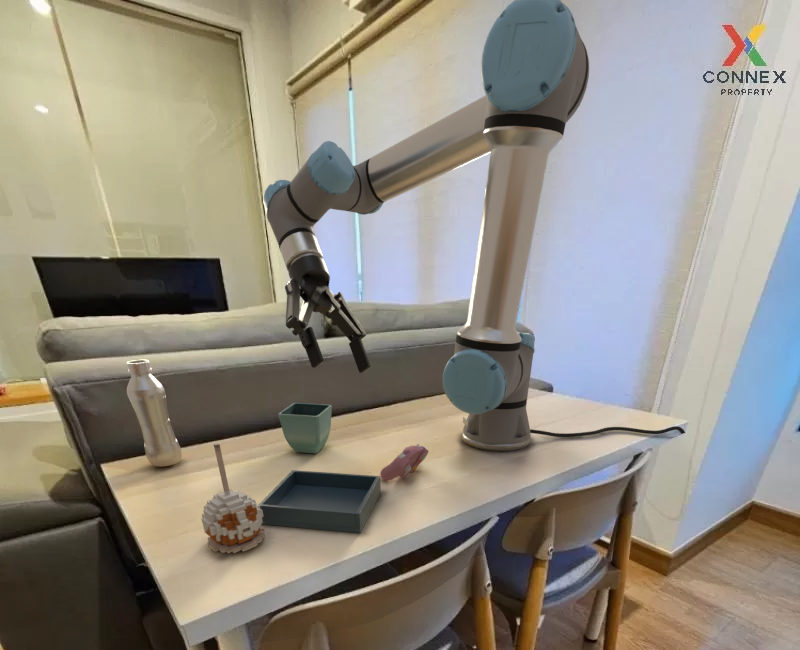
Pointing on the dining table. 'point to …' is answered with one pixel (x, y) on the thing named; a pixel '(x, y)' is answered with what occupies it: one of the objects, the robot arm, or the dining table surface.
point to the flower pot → (306, 426)
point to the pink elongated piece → (404, 462)
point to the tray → (322, 501)
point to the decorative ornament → (232, 517)
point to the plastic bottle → (152, 415)
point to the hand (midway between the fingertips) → (342, 367)
